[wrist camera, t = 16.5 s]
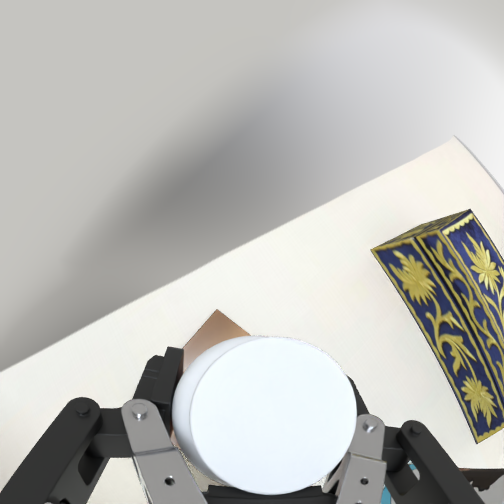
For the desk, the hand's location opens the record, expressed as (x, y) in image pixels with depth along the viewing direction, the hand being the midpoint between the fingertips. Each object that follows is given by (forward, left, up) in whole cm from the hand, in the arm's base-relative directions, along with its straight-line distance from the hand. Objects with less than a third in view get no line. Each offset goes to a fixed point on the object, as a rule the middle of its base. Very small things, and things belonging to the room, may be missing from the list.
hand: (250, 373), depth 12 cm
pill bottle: (+1, -2, -6) cm, 6 cm away
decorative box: (+20, +20, -13) cm, 31 cm away
